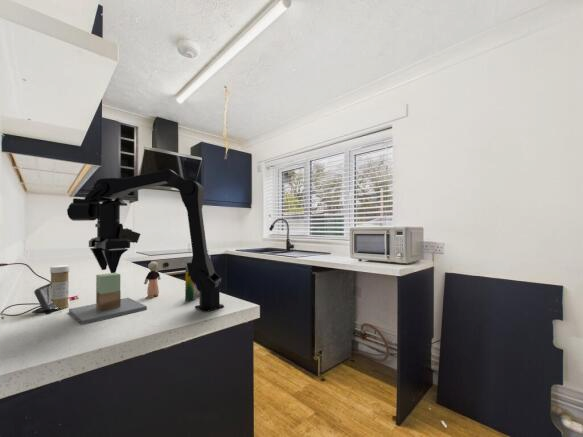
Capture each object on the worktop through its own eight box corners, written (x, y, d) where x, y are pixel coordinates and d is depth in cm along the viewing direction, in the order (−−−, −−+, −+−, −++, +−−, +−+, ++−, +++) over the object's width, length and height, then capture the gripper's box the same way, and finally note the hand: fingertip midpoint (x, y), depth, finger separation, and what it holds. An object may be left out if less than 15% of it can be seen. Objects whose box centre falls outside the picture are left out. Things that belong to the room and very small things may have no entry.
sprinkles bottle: (54, 306, 86) (54, 265, 86) (71, 305, 87) (71, 264, 88) (46, 311, 82) (47, 267, 82) (64, 309, 83) (65, 266, 83)
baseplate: (146, 309, 82) (146, 306, 82) (82, 324, 70) (82, 320, 70) (128, 300, 92) (128, 297, 92) (68, 312, 80) (68, 309, 80)
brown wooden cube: (120, 307, 81) (120, 290, 81) (100, 311, 77) (101, 293, 78) (115, 304, 84) (115, 288, 85) (96, 307, 81) (96, 291, 81)
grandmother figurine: (152, 299, 94) (152, 263, 94) (142, 299, 94) (142, 263, 94) (163, 293, 101) (163, 260, 102) (153, 293, 102) (153, 260, 102)
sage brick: (120, 290, 81) (120, 274, 81) (100, 294, 78) (100, 276, 78) (115, 288, 85) (115, 272, 85) (96, 291, 81) (96, 274, 81)
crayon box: (193, 300, 91) (193, 266, 91) (184, 300, 91) (184, 266, 91) (201, 295, 98) (201, 263, 99) (193, 295, 98) (193, 263, 99)
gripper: (148, 219, 82) (148, 270, 81) (127, 221, 94) (127, 265, 93) (106, 219, 73) (105, 276, 73) (88, 221, 85) (88, 269, 85)
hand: (108, 271), depth 81 cm, fingers open, 9 cm apart
